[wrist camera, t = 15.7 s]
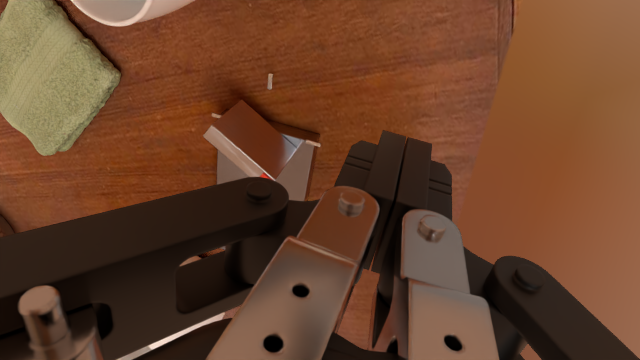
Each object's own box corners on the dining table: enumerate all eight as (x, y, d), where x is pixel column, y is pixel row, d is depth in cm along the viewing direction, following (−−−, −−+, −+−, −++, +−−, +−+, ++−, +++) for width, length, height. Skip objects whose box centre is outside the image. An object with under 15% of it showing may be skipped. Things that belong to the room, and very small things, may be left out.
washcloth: (-21, 72, 48) (-48, 81, 46) (37, -31, 39) (7, -28, 37) (65, 156, 52) (45, 168, 49) (137, 79, 43) (116, 89, 40)
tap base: (223, 52, 39) (212, 59, 37) (336, 82, 37) (330, 90, 36) (217, 235, 52) (209, 246, 50) (300, 262, 51) (295, 274, 49)
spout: (233, 109, 39) (200, 137, 34) (241, 98, 38) (209, 125, 33) (287, 158, 41) (264, 192, 35) (297, 148, 40) (274, 182, 35)
